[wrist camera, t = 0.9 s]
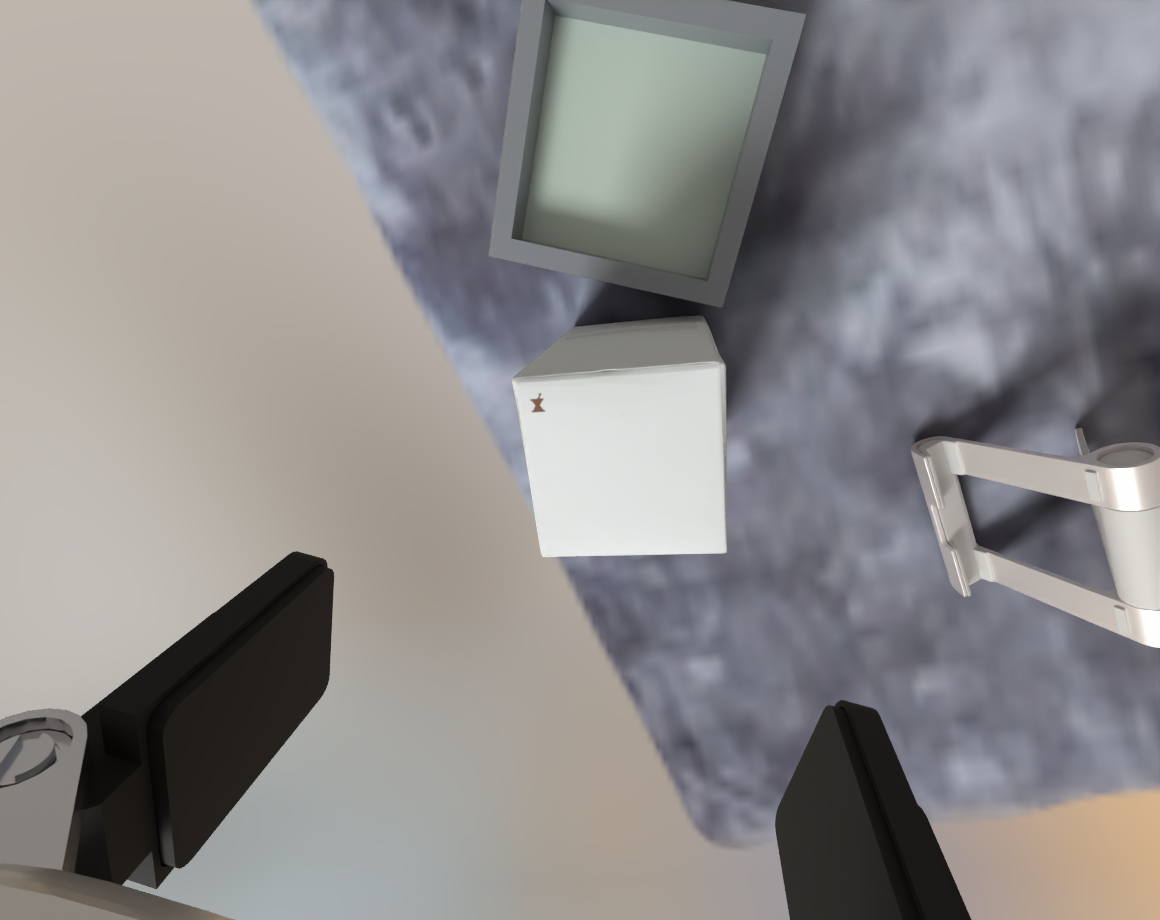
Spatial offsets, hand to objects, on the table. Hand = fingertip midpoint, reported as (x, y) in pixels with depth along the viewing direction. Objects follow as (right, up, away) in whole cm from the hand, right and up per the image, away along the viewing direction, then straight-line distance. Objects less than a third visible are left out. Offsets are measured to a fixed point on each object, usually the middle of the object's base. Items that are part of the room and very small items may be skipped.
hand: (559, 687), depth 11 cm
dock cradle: (+3, +19, +17) cm, 26 cm away
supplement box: (+4, +8, +22) cm, 24 cm away
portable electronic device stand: (+23, +3, +20) cm, 31 cm away
